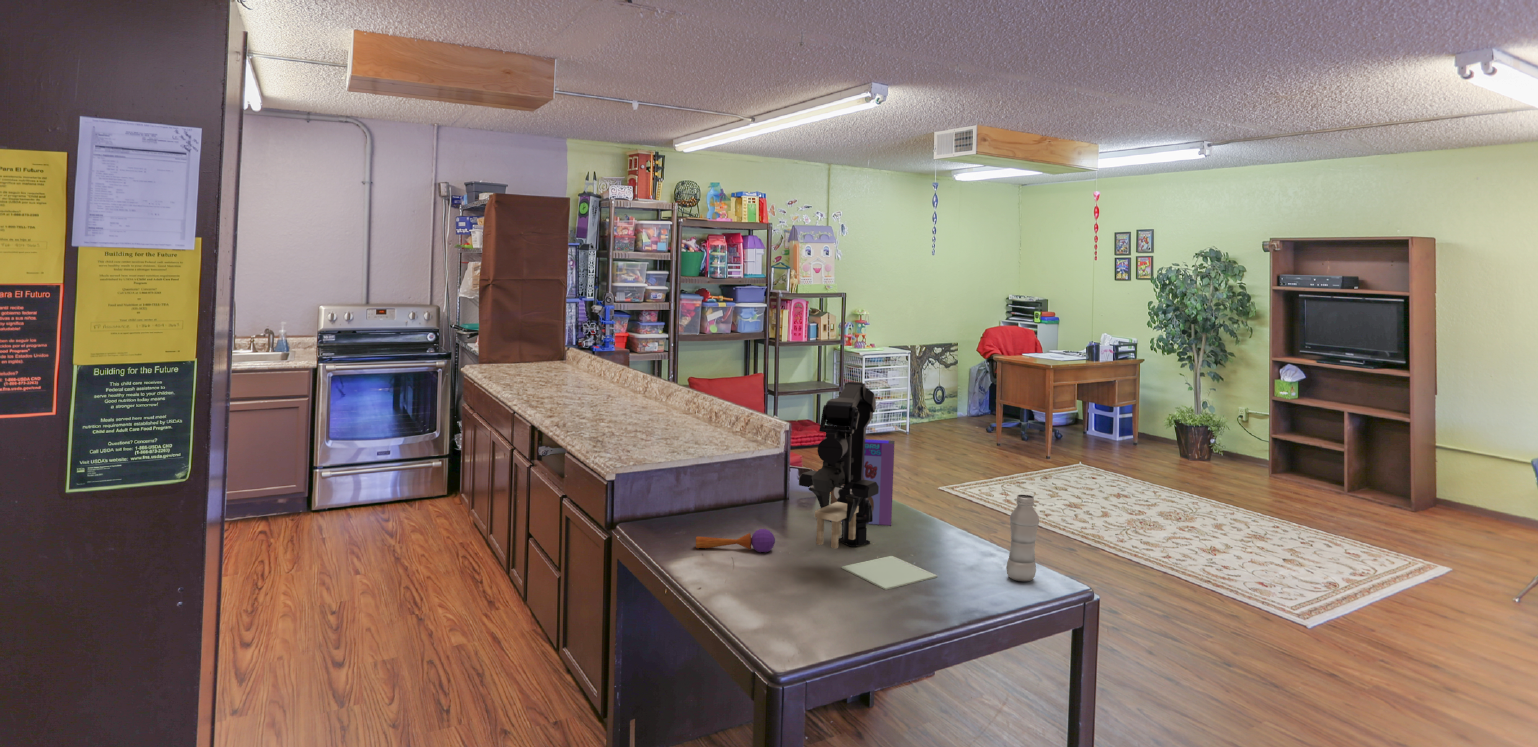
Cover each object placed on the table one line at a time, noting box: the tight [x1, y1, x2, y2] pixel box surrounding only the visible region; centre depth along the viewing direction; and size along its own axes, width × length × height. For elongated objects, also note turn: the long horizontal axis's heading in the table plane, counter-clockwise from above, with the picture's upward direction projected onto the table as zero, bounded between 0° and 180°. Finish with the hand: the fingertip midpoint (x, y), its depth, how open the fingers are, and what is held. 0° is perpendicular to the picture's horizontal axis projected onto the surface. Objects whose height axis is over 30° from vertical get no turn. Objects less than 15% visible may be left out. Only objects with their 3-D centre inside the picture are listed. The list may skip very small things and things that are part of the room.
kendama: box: [695, 528, 776, 553], centre depth 205 cm, size 6×6×20 cm
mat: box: [841, 555, 938, 591], centre depth 191 cm, size 16×16×1 cm
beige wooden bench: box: [814, 502, 859, 549], centre depth 189 cm, size 6×10×8 cm, turn 145°
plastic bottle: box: [1005, 493, 1040, 582], centre depth 187 cm, size 6×7×20 cm
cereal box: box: [829, 438, 895, 527], centre depth 231 cm, size 17×5×24 cm, turn 81°
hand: (836, 519), depth 189 cm, fingers closed on beige wooden bench, 6 cm apart
